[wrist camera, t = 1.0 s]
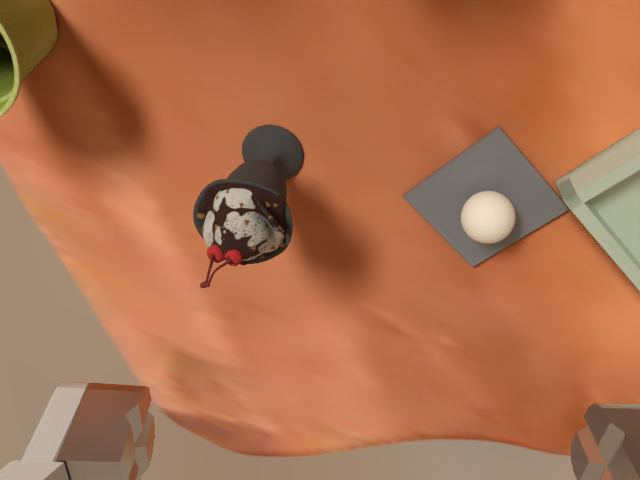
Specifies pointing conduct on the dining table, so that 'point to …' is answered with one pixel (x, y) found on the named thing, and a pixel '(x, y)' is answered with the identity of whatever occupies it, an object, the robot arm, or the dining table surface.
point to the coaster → (485, 175)
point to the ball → (488, 217)
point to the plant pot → (23, 43)
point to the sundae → (250, 202)
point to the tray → (610, 201)
